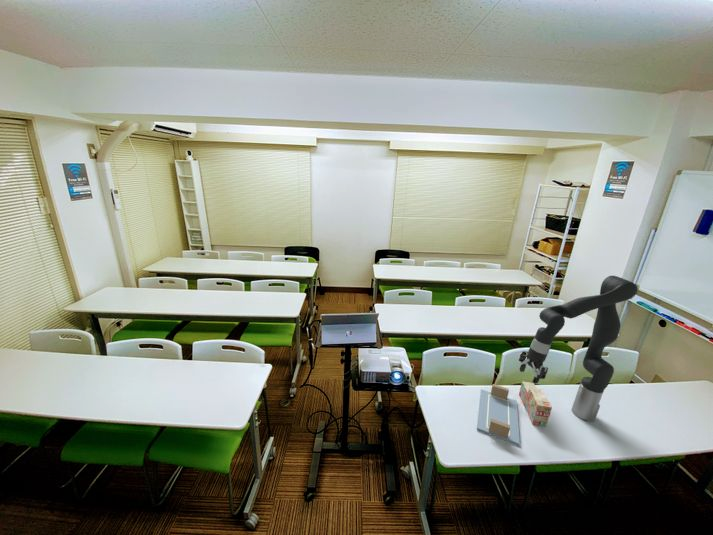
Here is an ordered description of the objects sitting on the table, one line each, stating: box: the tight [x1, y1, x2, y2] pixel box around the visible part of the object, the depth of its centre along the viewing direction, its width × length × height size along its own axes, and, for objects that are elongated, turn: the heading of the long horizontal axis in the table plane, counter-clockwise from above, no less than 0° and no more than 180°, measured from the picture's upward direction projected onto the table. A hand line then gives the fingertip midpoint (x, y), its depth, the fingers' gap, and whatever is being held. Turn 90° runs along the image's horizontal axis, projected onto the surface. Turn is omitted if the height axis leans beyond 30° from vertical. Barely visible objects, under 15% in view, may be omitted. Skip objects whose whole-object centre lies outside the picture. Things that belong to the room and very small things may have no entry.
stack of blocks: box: [518, 380, 553, 428], centre depth 150 cm, size 21×6×12 cm, turn 169°
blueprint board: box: [476, 383, 521, 447], centre depth 146 cm, size 18×30×7 cm, turn 154°
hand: (527, 377), depth 142 cm, fingers open, 8 cm apart
